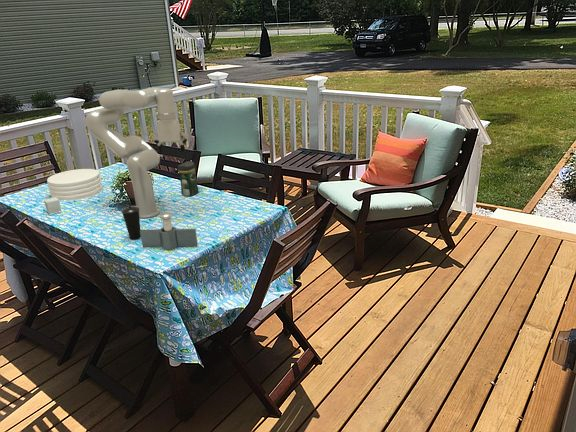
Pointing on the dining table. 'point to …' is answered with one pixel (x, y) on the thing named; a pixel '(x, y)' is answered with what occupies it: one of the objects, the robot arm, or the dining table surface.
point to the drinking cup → (132, 221)
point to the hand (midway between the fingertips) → (172, 153)
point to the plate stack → (75, 184)
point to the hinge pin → (166, 221)
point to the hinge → (169, 238)
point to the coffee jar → (188, 178)
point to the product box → (52, 205)
